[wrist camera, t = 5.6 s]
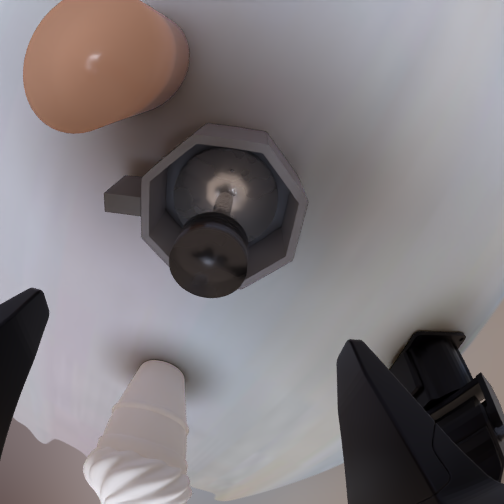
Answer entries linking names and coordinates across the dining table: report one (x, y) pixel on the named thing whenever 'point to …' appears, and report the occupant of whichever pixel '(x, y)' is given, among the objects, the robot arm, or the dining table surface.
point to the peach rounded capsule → (102, 63)
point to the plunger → (220, 219)
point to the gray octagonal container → (168, 223)
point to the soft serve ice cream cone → (144, 442)
